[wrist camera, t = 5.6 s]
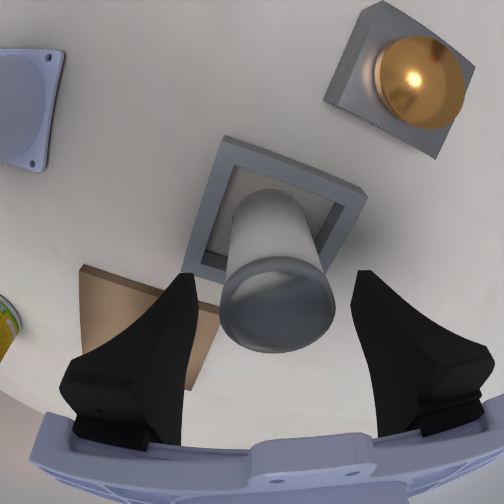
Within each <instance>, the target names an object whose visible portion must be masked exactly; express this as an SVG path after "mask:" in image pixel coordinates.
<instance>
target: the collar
mask: <svg viewBox="0 0 504 504" xmlns="http://www.w3.org/2000/svg"><path fill="white" fill-rule="evenodd" d="M234 165H236V166H239V167H242V168H245V169H248V170H251V171H254V172H257V173H259V174H262V175H265V176H268V177H271V178H274V179H276V180H279V181H282V182H285V183H287V184H290V185H293V186H295V187H298V188H301V189H303V190H306V191H308V192H311V193H314V194H316V195H319V196H321V197H324V198H326V199H329V200H331V201H334V202H335V204H334V206H333V208H332V210H331V212H330V214H329V216H328V218H327V220H326V222H325V223H324V225H323V227H322V229H321V231H320V233H319V235H318V237H317V239H316V241H315V243H314V245H315V248H316V251H317V254H318V257H319V260H320V263H321V266H322V269H323V273H324V275H325V273H326V271H327V270H328V268H329V266H330V265H331V263H332V261H333V259H334V258H335V256H336V254H337V253H338V251H339V249H340V247H341V246H342V244H343V242H344V240H345V239H346V237H347V235H348V233H349V231H350V230H351V228H352V226H353V224H354V222H355V221H356V219H357V217H358V215H359V213H360V211H361V210H362V208H363V206H364V204H365V202H366V200H367V198H368V196H367V195H366V194H365V193H364V192H363V191H362V189H361V188H360V187H357V186H355V185H353V184H351V183H348V182H346V181H344V180H342V179H339V178H337V177H335V176H332V175H330V174H327V173H325V172H323V171H320V170H318V169H315V168H313V167H310V166H308V165H305V164H303V163H300V162H298V161H295V160H293V159H290V158H287V157H285V156H282V155H279V154H277V153H274V152H271V151H269V150H266V149H263V148H260V147H257V146H255V145H252V144H249V143H246V142H243V141H240V140H237V139H234V138H231V137H228V136H225V135H224V137H223V140H222V142H221V145H220V148H219V151H218V154H217V156H216V159H215V162H214V165H213V168H212V171H211V174H210V177H209V180H208V183H207V186H206V189H205V193H204V196H203V199H202V202H201V205H200V208H199V211H198V215H197V218H196V221H195V224H194V228H193V231H192V234H191V238H190V241H189V244H188V248H187V251H186V255H185V258H184V262H183V265H182V269H181V272H184V273H194V276H197V277H200V278H203V279H207V280H210V281H214V282H217V283H220V284H224V285H225V278H226V269H227V261H228V258H226V257H223V256H220V255H216V254H213V253H210V252H207V251H205V248H206V245H207V242H208V239H209V236H210V233H211V230H212V227H213V224H214V221H215V218H216V215H217V212H218V210H219V207H220V204H221V201H222V198H223V195H224V192H225V190H226V187H227V184H228V181H229V179H230V176H231V173H232V170H233V168H234Z"/></svg>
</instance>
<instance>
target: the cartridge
mask: <svg viewBox="0 0 504 504" xmlns="http://www.w3.org/2000/svg"><path fill="white" fill-rule="evenodd" d="M335 310H336V306H335V300H334V296H333V293H332V290H331V287H330V284H329V282H328V280H327V278H326V276H325V275H324V273H323V269H322V266H321V263H320V260H319V257H318V254H317V251H316V248H315V245H314V242H313V239H312V236H311V233H310V230H309V227H308V224H307V221H306V218H305V215H304V212H303V210H302V208H301V206H300V204H299V203H298V202H297V201H296V200H295V199H294V198H293V197H292V196H290V195H289V194H287V193H285V192H282V191H279V190H273V189H266V190H260V191H256V192H254V193H252V194H250V195H248V196H247V197H245V198H244V199H243V200H242V201H241V202H240V203H239V204H238V206H237V207H236V209H235V211H234V215H233V220H232V228H231V236H230V244H229V252H228V261H227V269H226V278H225V285H224V287H223V290H222V293H221V300H220V309H219V319H220V323H221V325H222V328H223V329H224V331H225V333H226V334H227V335H228V336H229V337H230V338H231V339H232V340H233V341H234V342H236V343H237V344H239V345H241V346H243V347H245V348H247V349H250V350H253V351H257V352H262V353H285V352H291V351H295V350H298V349H301V348H304V347H306V346H308V345H310V344H311V343H313V342H315V341H316V340H318V339H319V338H320V337H321V336H322V335H323V334H324V333H325V332H326V331H327V330H328V329H329V327H330V325H331V324H332V322H333V319H334V316H335Z"/></svg>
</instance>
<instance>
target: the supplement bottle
mask: <svg viewBox="0 0 504 504" xmlns="http://www.w3.org/2000/svg"><path fill="white" fill-rule="evenodd" d="M20 328H21V323H20V319H19V317H18V315H17V313H16V311H15V310H14V308H13V307H12V306H11V305H10V304H9V302H8V301H6V300H5V299H4V298H3V297H1V296H0V362H1V360H2V359H3V357H4V355H5V353H6V352H7V350H8V348H9V347H10V345H11V343H12V342H13V340H14V339H15V337H16V335H17V334H18V332H19V330H20Z"/></svg>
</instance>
